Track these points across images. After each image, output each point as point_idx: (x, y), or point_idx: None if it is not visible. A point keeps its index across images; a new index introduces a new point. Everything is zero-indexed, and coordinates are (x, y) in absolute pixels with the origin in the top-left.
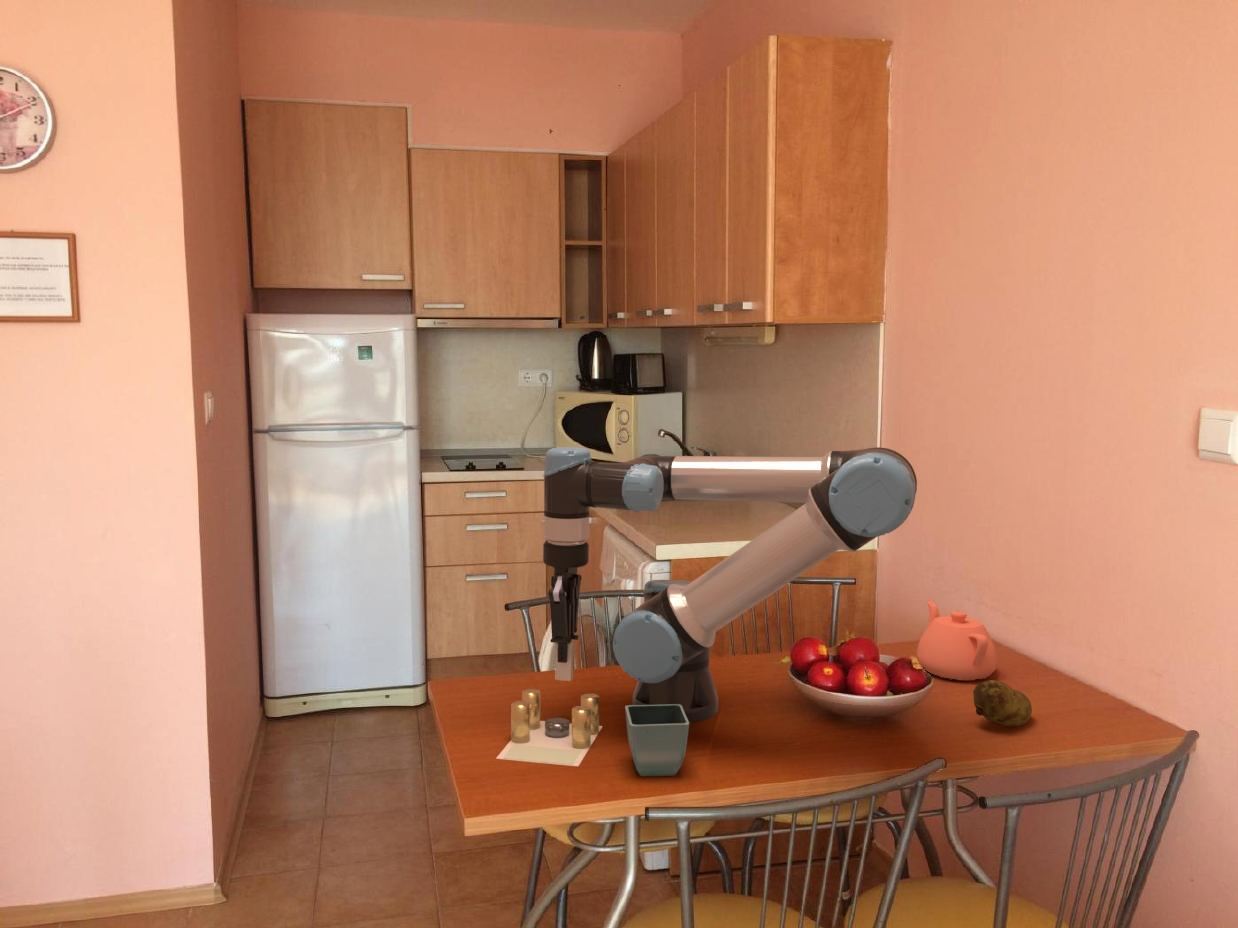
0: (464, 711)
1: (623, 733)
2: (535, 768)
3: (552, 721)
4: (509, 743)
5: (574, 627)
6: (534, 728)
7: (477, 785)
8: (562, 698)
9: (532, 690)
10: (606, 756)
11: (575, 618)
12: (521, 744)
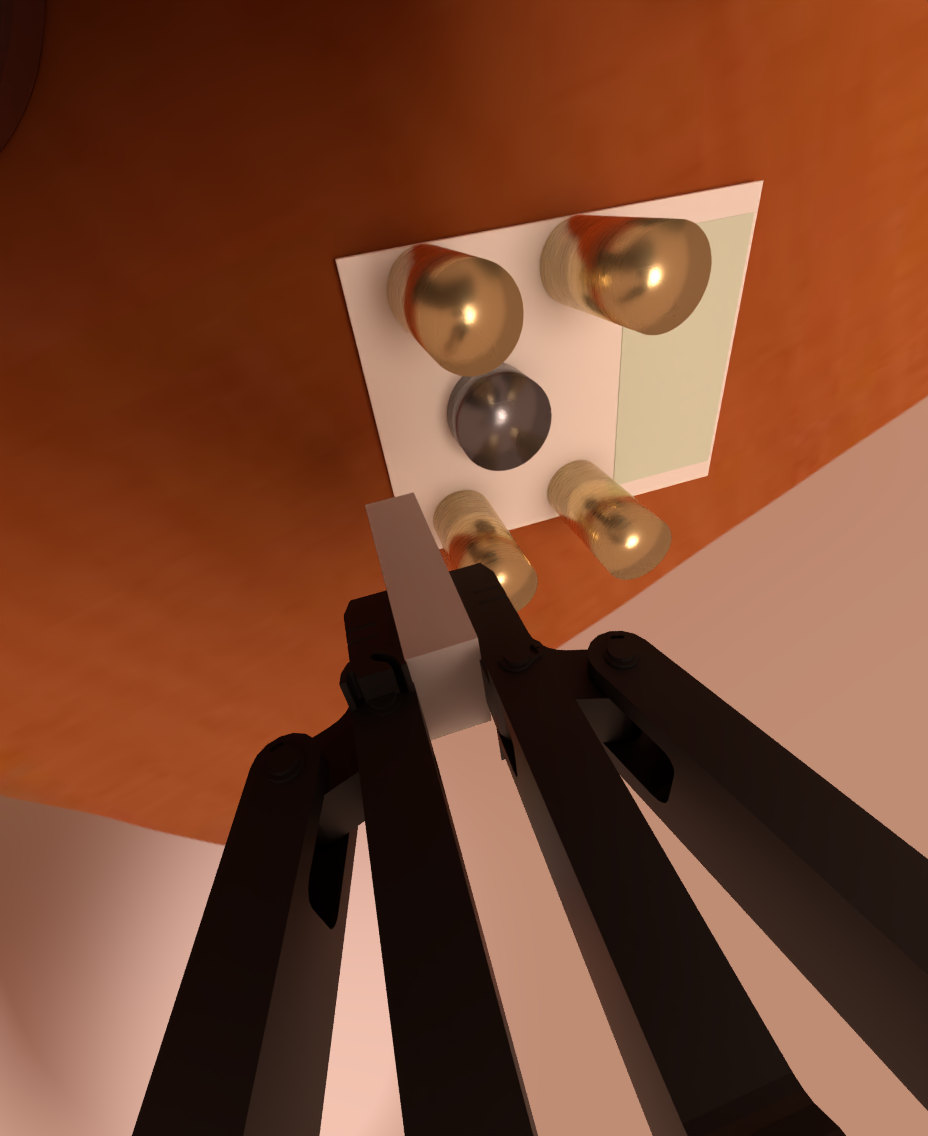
0: None
1: (333, 110)
2: (743, 342)
3: (507, 443)
4: None
5: (321, 781)
6: (484, 496)
7: (836, 432)
8: (109, 581)
9: None
10: (626, 96)
11: (297, 883)
12: (605, 467)
